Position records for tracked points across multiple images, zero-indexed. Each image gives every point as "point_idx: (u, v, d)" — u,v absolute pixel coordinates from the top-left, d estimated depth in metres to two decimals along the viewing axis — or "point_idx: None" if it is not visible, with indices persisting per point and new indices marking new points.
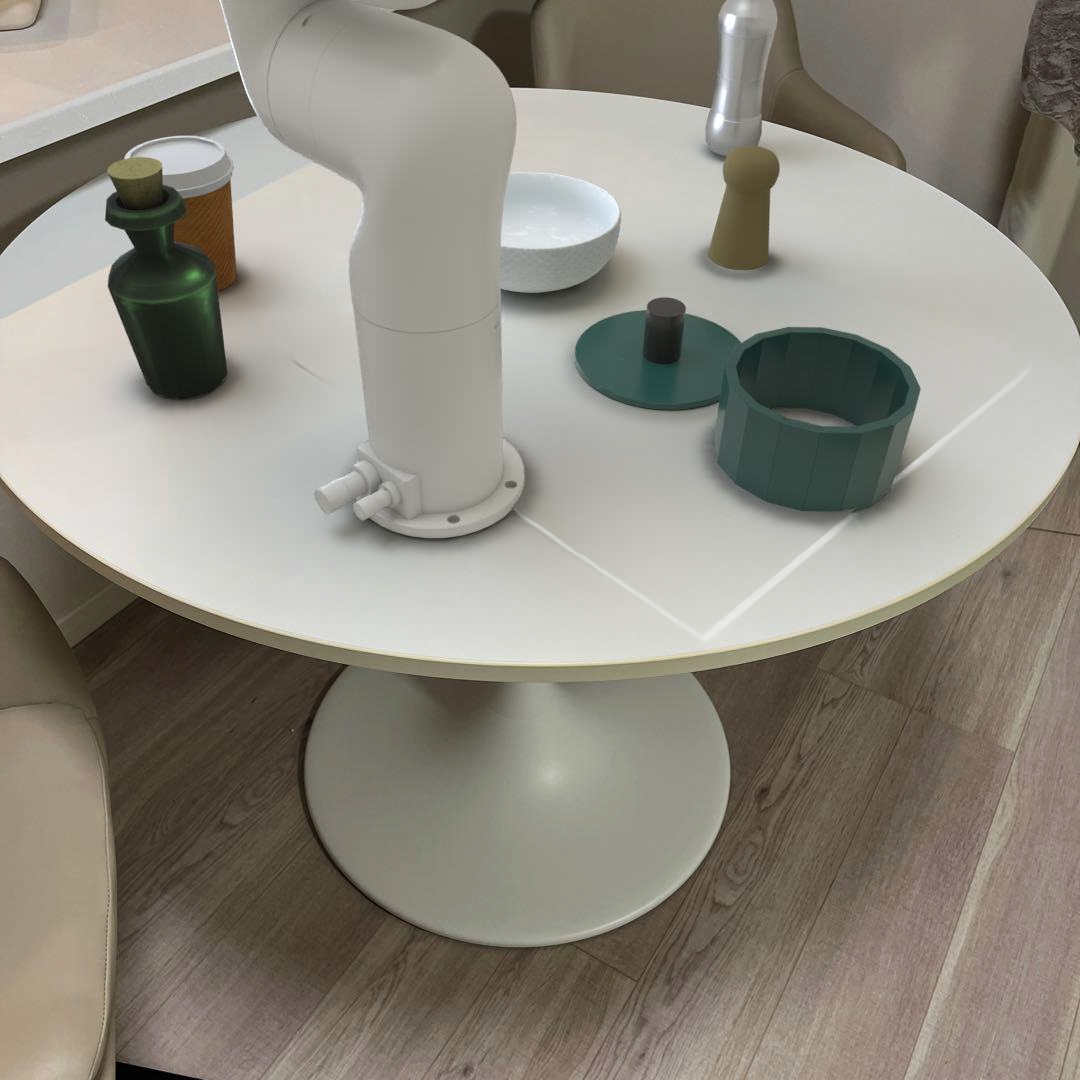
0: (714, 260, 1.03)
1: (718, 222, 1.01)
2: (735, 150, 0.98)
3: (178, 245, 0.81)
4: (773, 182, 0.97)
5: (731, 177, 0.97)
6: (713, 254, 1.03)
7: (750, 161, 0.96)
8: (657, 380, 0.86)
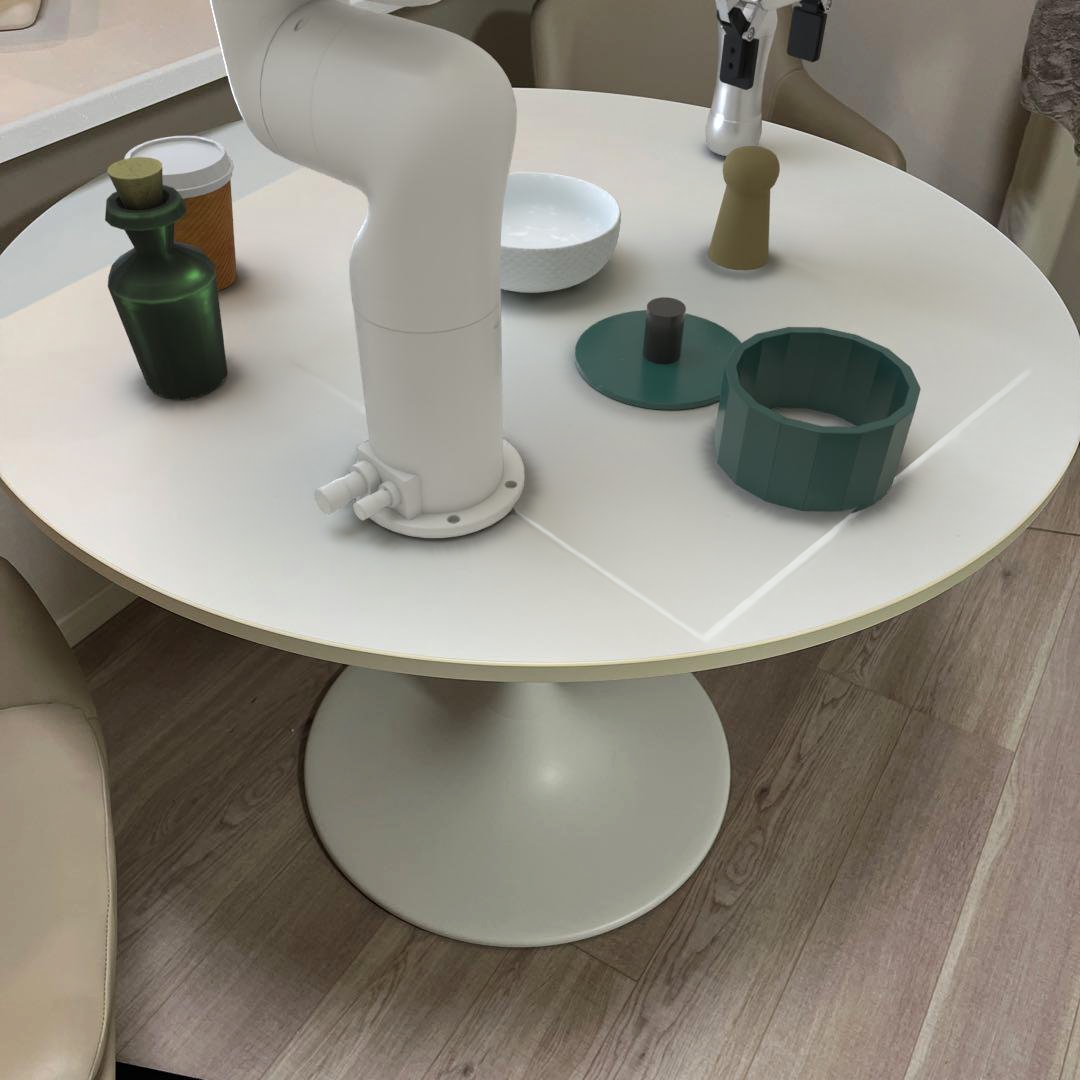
0: (714, 260, 1.03)
1: (718, 222, 1.01)
2: (735, 150, 0.98)
3: (178, 245, 0.81)
4: (773, 182, 0.97)
5: (731, 177, 0.97)
6: (713, 254, 1.03)
7: (750, 161, 0.96)
8: (657, 380, 0.86)
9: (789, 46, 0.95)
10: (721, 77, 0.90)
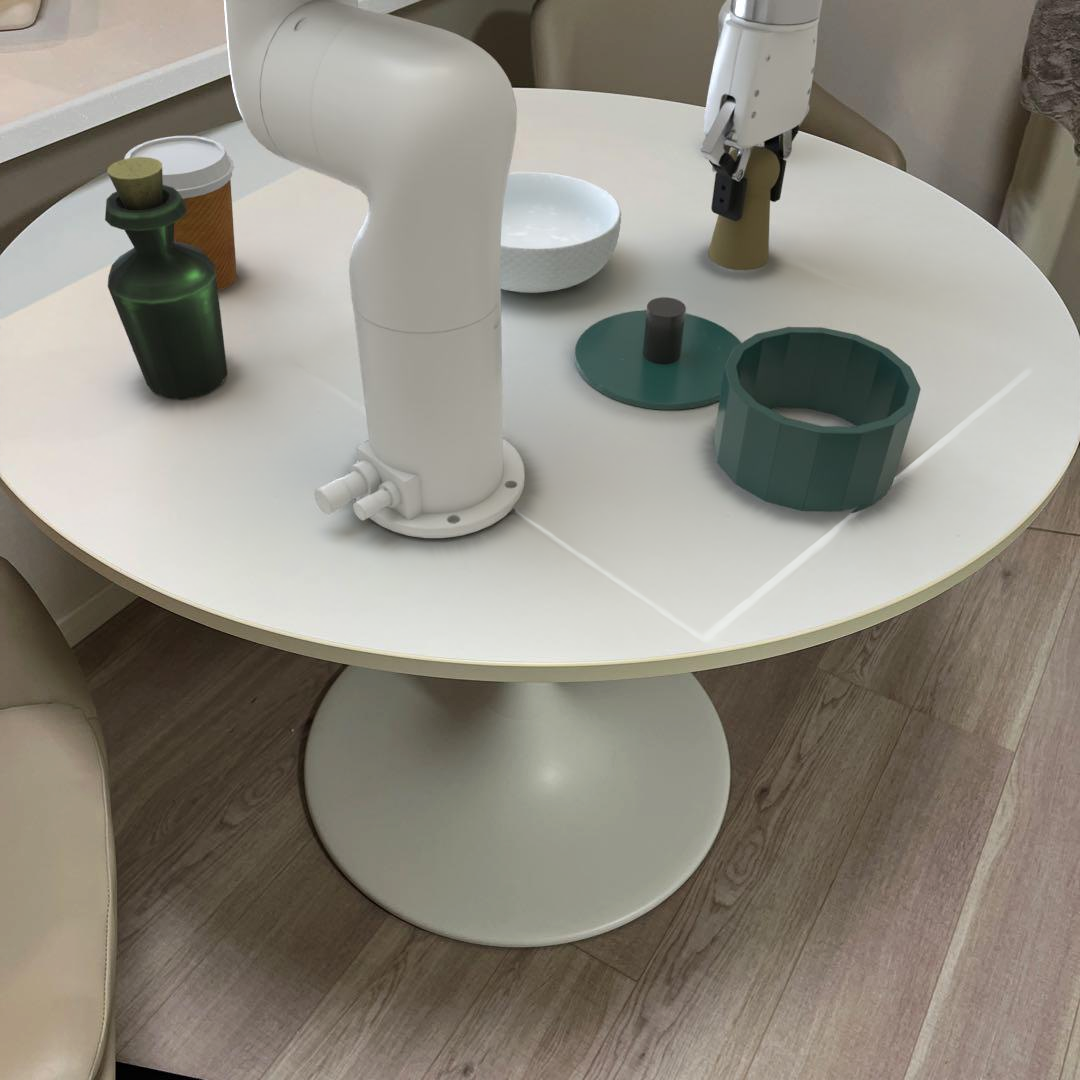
0: (714, 260, 1.03)
1: (718, 222, 1.01)
2: (735, 150, 0.98)
3: (178, 245, 0.81)
4: (773, 182, 0.97)
5: None
6: (713, 254, 1.03)
7: (750, 160, 0.96)
8: (657, 380, 0.86)
9: None
10: (713, 208, 0.99)
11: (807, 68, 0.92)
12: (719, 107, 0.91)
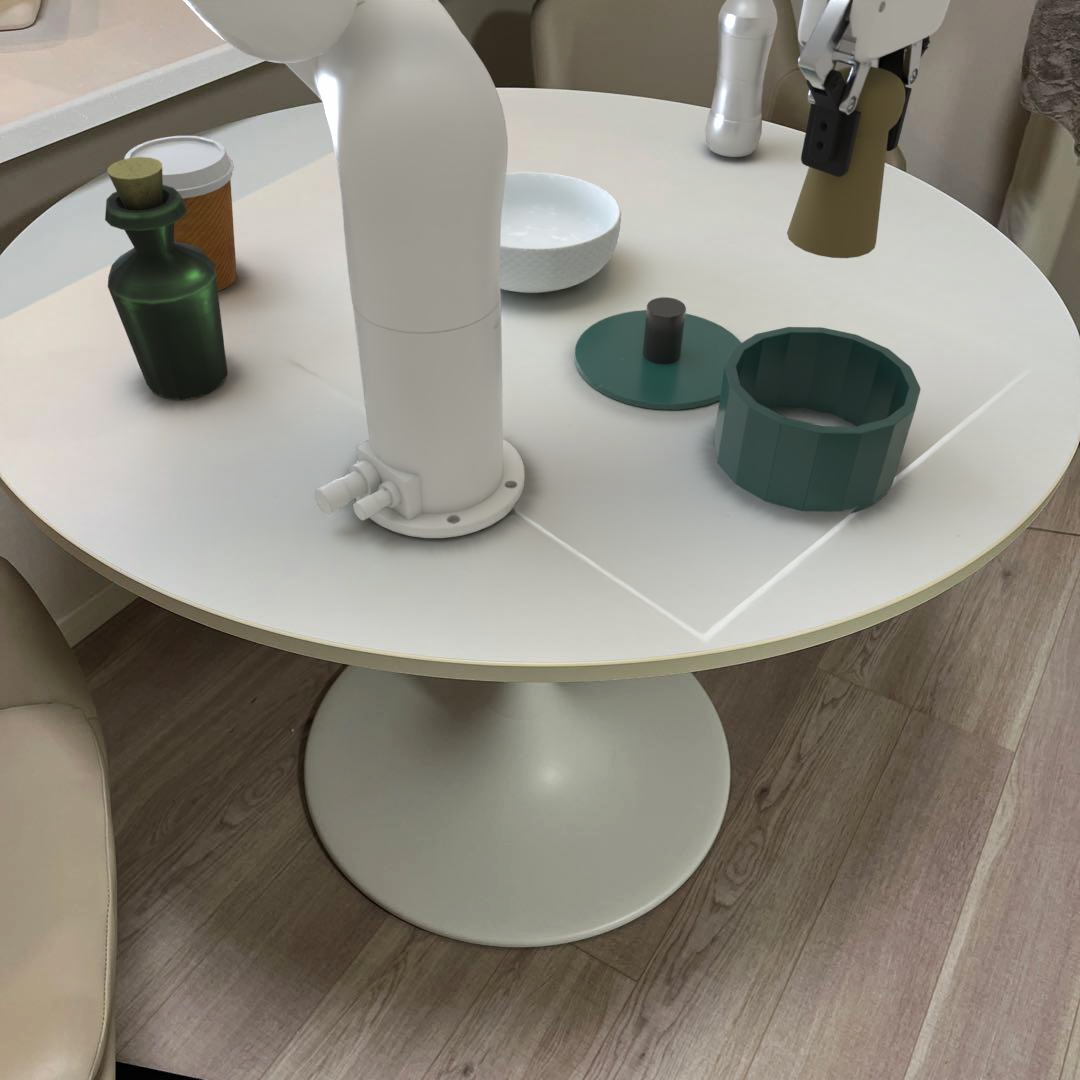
0: (801, 236, 0.71)
1: (808, 180, 0.69)
2: (840, 71, 0.66)
3: (178, 245, 0.81)
4: (896, 118, 0.66)
5: None
6: (798, 227, 0.71)
7: (866, 84, 0.64)
8: (657, 380, 0.86)
9: None
10: (803, 158, 0.67)
11: None
12: None
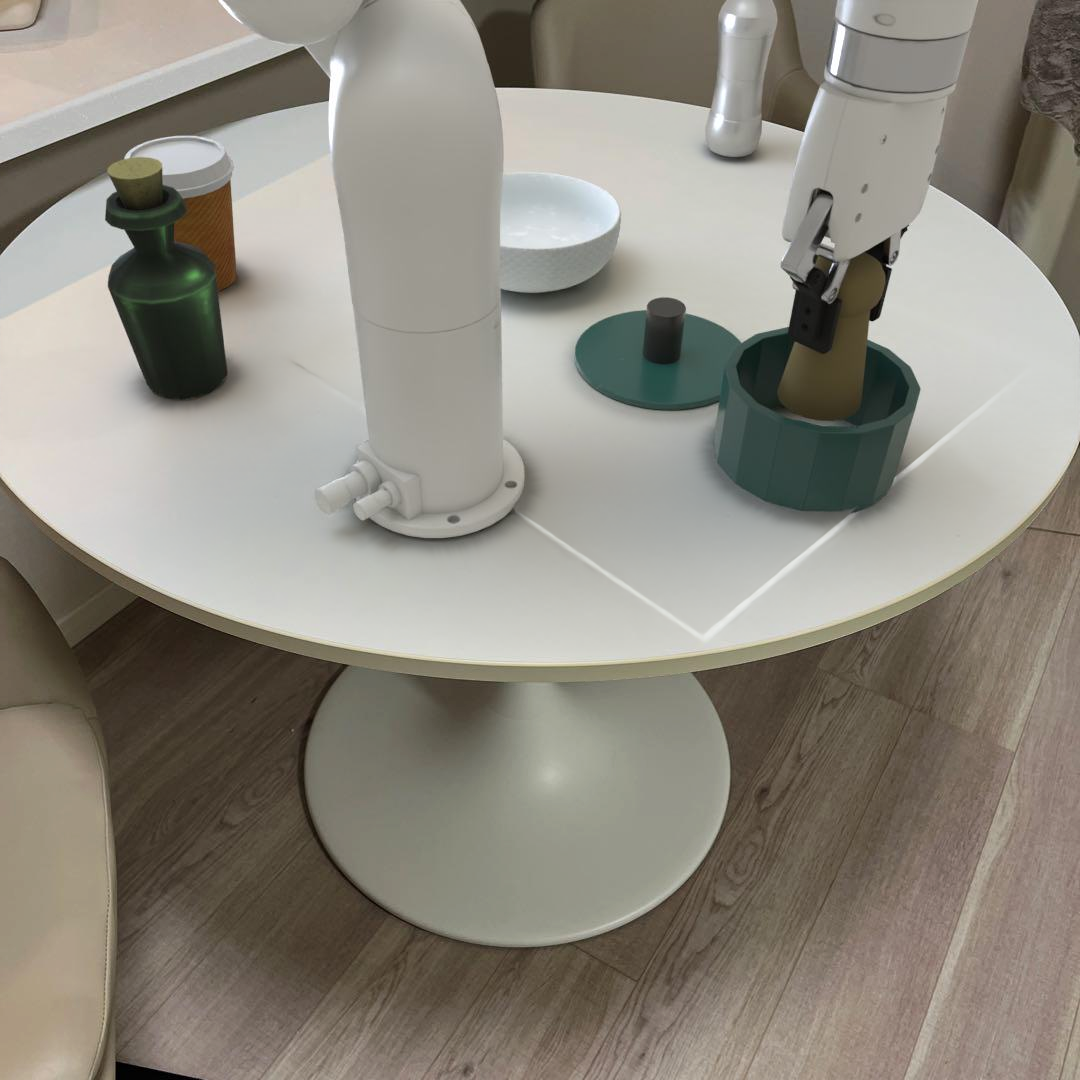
0: (789, 399, 0.75)
1: (796, 349, 0.74)
2: None
3: (178, 245, 0.81)
4: (877, 301, 0.70)
5: None
6: (787, 390, 0.75)
7: (847, 273, 0.68)
8: (657, 380, 0.86)
9: None
10: (790, 334, 0.72)
11: (931, 147, 0.65)
12: (808, 205, 0.64)
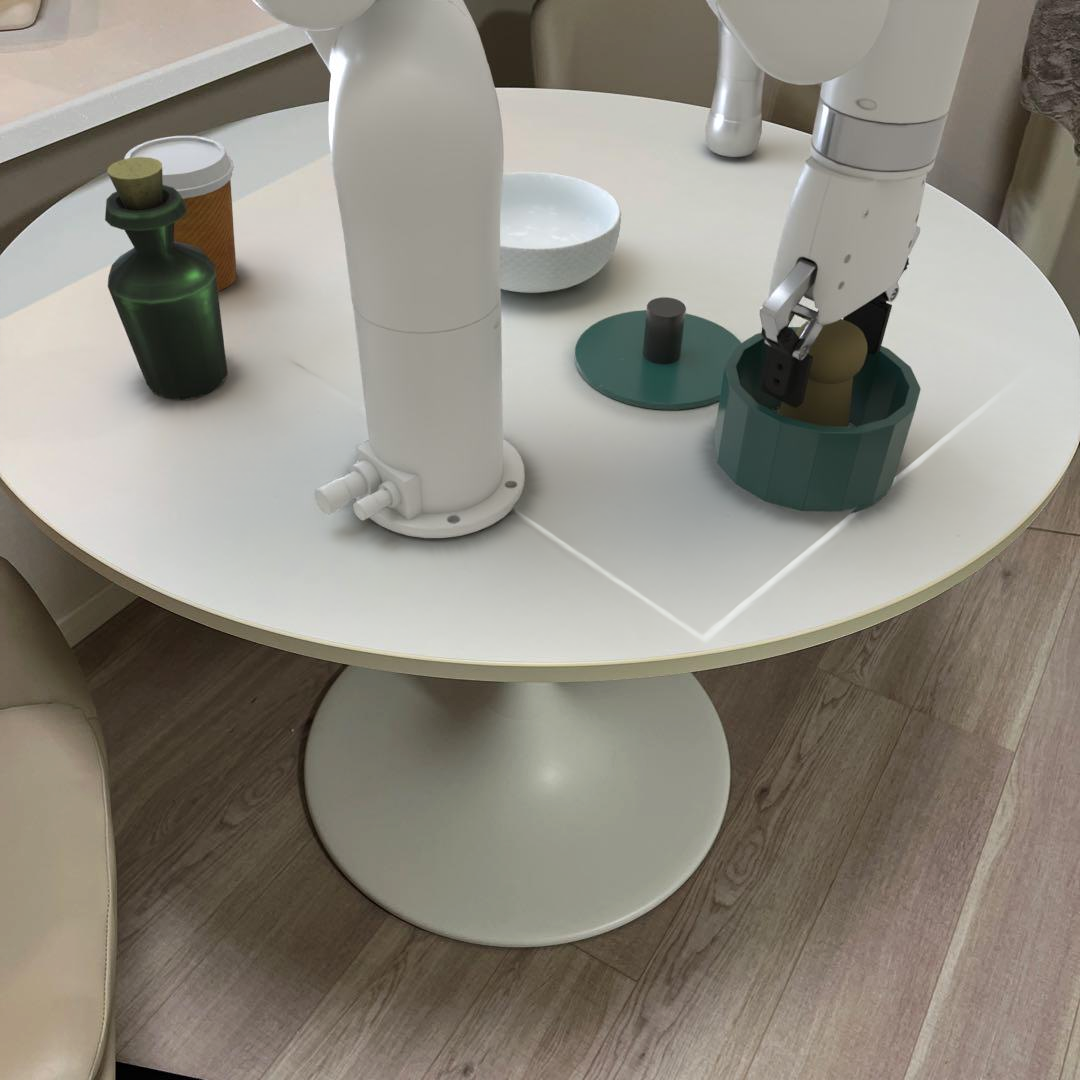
0: None
1: (783, 411, 0.77)
2: None
3: (178, 245, 0.81)
4: (859, 368, 0.73)
5: None
6: None
7: (830, 343, 0.72)
8: (657, 380, 0.86)
9: None
10: (763, 387, 0.73)
11: (912, 217, 0.68)
12: None
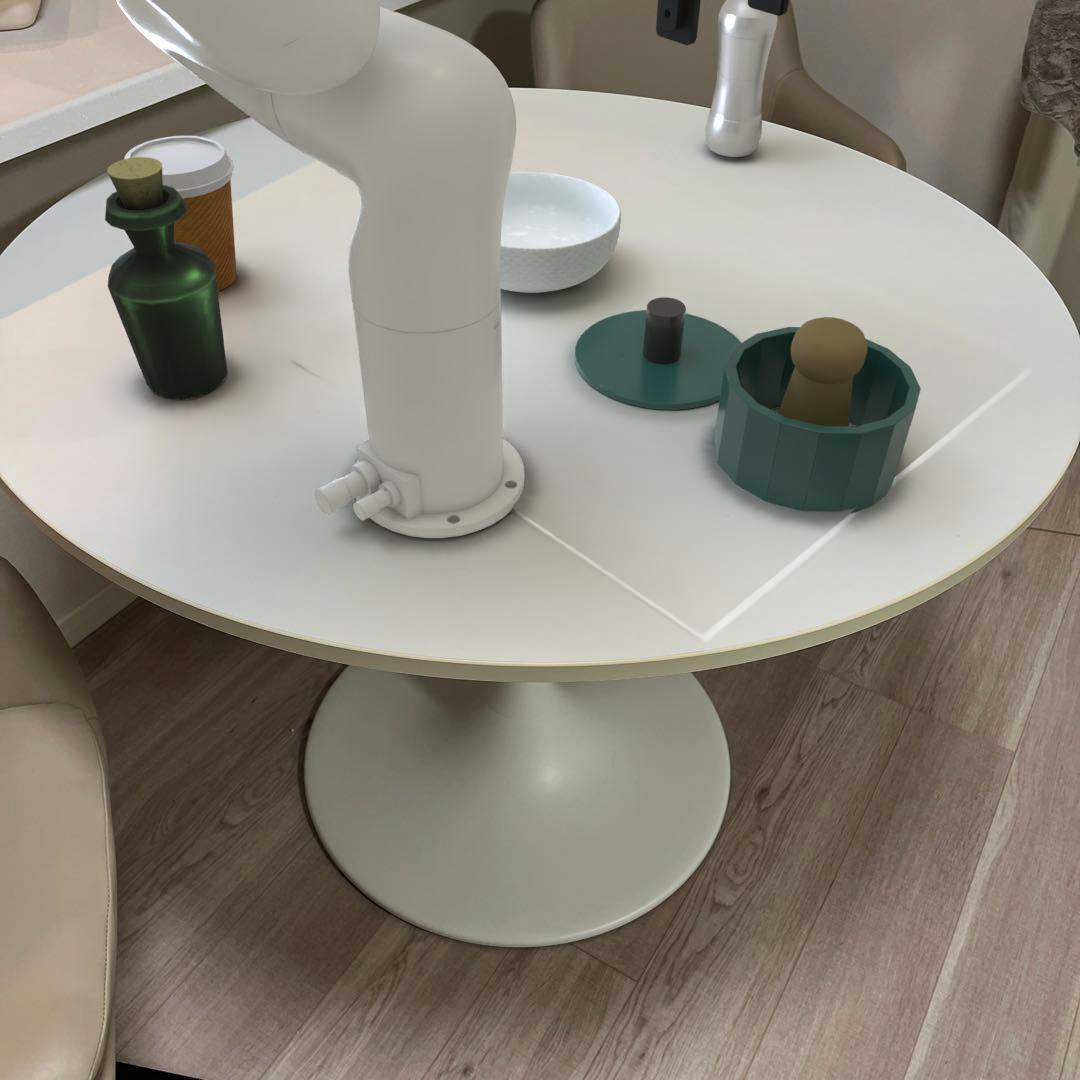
0: None
1: (783, 411, 0.77)
2: (808, 325, 0.74)
3: (178, 245, 0.81)
4: (859, 368, 0.73)
5: (803, 362, 0.73)
6: None
7: (830, 343, 0.72)
8: (657, 380, 0.86)
9: None
10: (658, 29, 0.71)
11: None
12: None
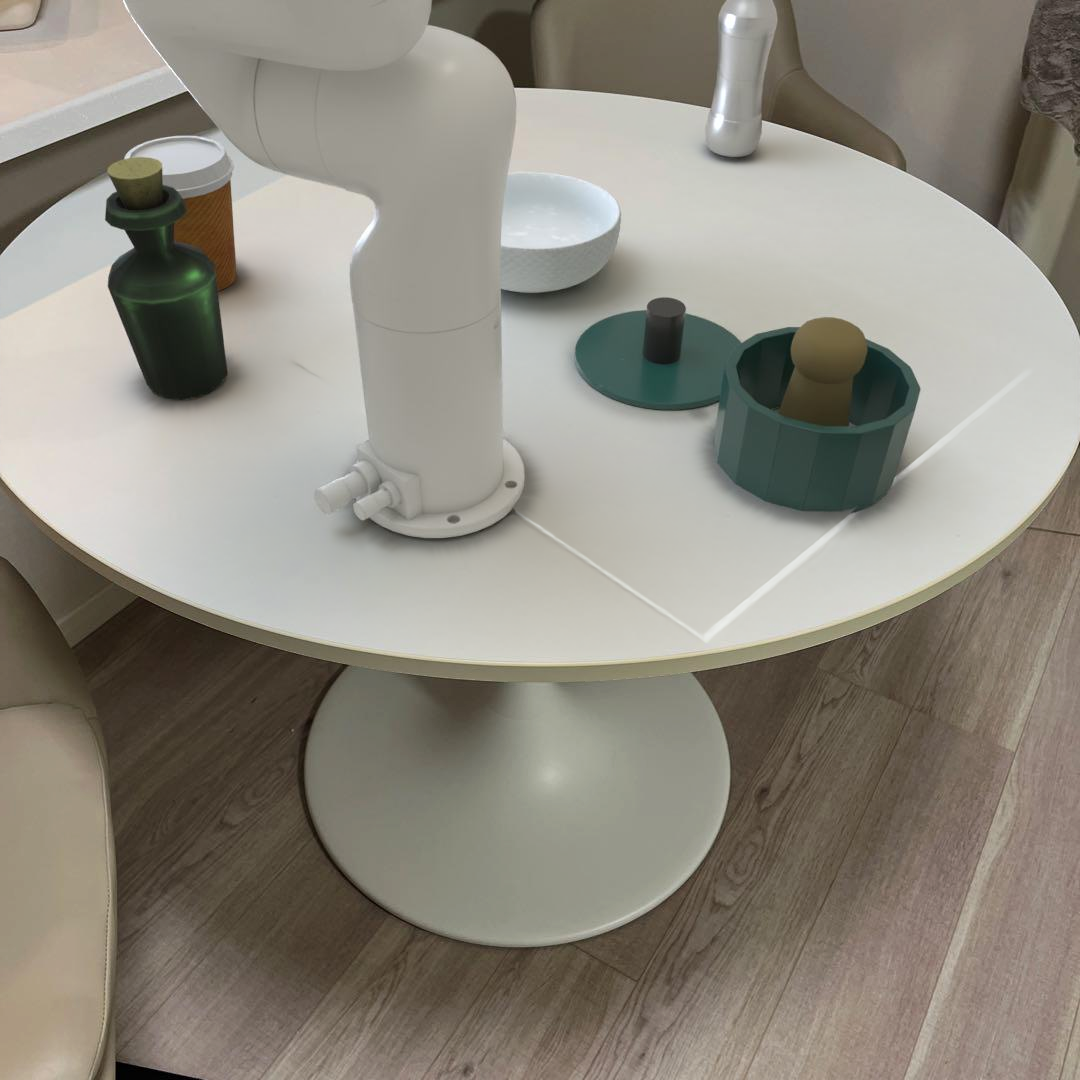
0: None
1: (783, 411, 0.77)
2: (808, 325, 0.74)
3: (178, 245, 0.81)
4: (859, 368, 0.73)
5: (803, 362, 0.73)
6: None
7: (830, 343, 0.72)
8: (657, 380, 0.86)
9: None
10: None
11: None
12: None
